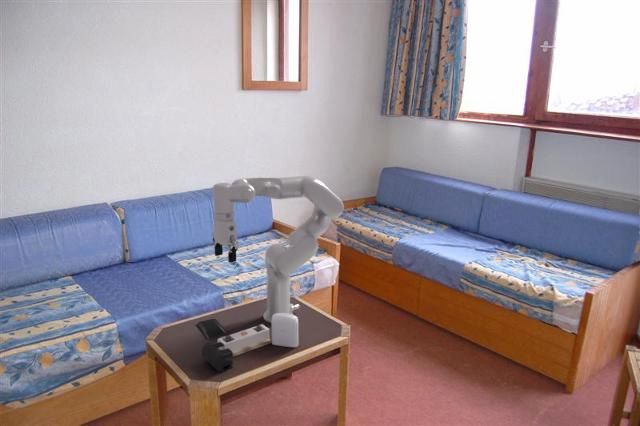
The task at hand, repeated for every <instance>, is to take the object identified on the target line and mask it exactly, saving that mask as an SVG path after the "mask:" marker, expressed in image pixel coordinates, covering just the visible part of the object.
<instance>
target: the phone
mask: <svg viewBox="0 0 640 426" xmlns="http://www.w3.org/2000/svg"><path fill="white" fill-rule="evenodd" d="M197 326H198V329H200V331H201V332H202V333H203V334H204V336H205V337H206V339H207V340H215V339H219V338H222V337H225V336H228V331H227V330H226V329H225V328H224V327H223V326H222V324H221V323H220V322H219V321H218V320H217V319H216V318H210V319H207V320H206V319H205V320H200V321H198V322H197Z"/></svg>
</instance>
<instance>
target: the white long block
mask: <svg viewBox="0 0 640 426" xmlns="http://www.w3.org/2000/svg"><path fill="white" fill-rule="evenodd" d="M259 325H260V326H262V331H260V332H257V330H256V327H257V326H258V325H256V326H252V327H250V328H246V329H244V330H240V331H238V332H235V333H232V334H229V335H230V336H231V341H230V342H227V343H226V336H223V337H219V338H217V343H219V342H221V343H223V344H224V346H223V347H220V348H219V349H221V350H224V349H227V348H229V349H230V350H231V351H232V352H234V351H237V350H240V349H242V348H245V347H248V346H251V345H254V344H256V343H259V342H262V341H265V340H268V339H270V340H271V338H270V328H269V327H267V326H265V325H264V324H259Z"/></svg>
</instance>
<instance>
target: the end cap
mask: <svg viewBox="0 0 640 426" xmlns="http://www.w3.org/2000/svg"><path fill="white" fill-rule="evenodd" d="M223 346H224V344H223V343H221V342H219V343H218V342H216V343H213V344H211V343H210V342H207V343H206V344H204V346H203V347H202V349H201V351H200V352H201V357H202V358H203V359H204V360H205V361H206V362H207V363H208V364H209V365H210V366H212V368H214V369H215V370H216V371H217V372H220V373H222V372H223V373H224V372H226V371H228V370H231V369H233V366H234V365H233V364H234V360H233V359H230V357H231V358H232V357H234V356H233V352H232V351H231V350H230V349H229V348H227V349H224V350H221V349H219V348H220V347H223ZM227 358H228V359H227Z"/></svg>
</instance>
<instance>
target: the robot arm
mask: <svg viewBox="0 0 640 426" xmlns="http://www.w3.org/2000/svg"><path fill="white" fill-rule="evenodd" d="M212 187H213V188H212V198H213V201H212V202H213V220H214V222H213V232H212V233H211V236H212V241H213V246H214V256H215V257H218V256H222V255H223V254H224V252H223V250H224V249H223V246H224V247H226V248H227V250H228V254H227V255H228V263H231V264H232V263H233V262H237V251H238V249H239V244H240V243H239V241H238V232H237V231H238V230H237V224H236V220H235V203H236V204H237V203H239V204H249V203H250V202H252V201H253V200H254V199H255V198H256V197H265V198H270V199H273V200H290V199H300V198H302V199H303V198H306V199H307V200H309V202H311V203H312V204H313V205H314V207H313V208H314V209H313V212H312V214H311V216H310V217H309V218H308V219H307V220H306V221H304V222H303V223H301V225H299V226H298V227H297V228H295V229H294V230H293V231H291V232H290V234H289V235H288V237H287V243H288V246H289V247H286V246H285V245H283V244H281V243H274V244H271V245H269V247H268V248H267V249H266V251H265V254H264V255H265V256H264V261H265V268H266V311H265V312H264V313H263V315H262V316H263V317H262V318H263V320H264V321H265V322H267V323H270V324H272V316H273V314H277V313H287V314H291V315H294V316H295V314H294V313H293V311H294V310H298V309H300V305H299V304H293V303H291V274H293V273H295V272H296V271H297V270H299V269H300V268H301V267H303V266H304V265H305V264H306V263H307V262H308V261H309V260H311V259H313V257H314V256H315V255H316V254H317V252H318V250H319V241H318V239H319V238H320V237H321V236H322V235H323V234H324V233H325V232H326V231H327V230H328V228H329V226H330V224H331V220H332V219H336V218H339V217H340V216H341V215H342V214H343V213H344V210H345V206H344V202H343V200H342V199H341V198H340V197H338V195H336V194H335V193H334V192H333V191H332V190H331V189H330V188H329V187H328V186H326V185H325V184H324V183H323V182H322V181H320V180H319V179H317V178H315V177H313V176H310V175H301V176H289V177H288V176H287V177H286V176H285V177H248V178H247V177H246V178H238V179H236V180H233V182H232V183H230V182H218V183H214V185H213V186H212Z"/></svg>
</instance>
